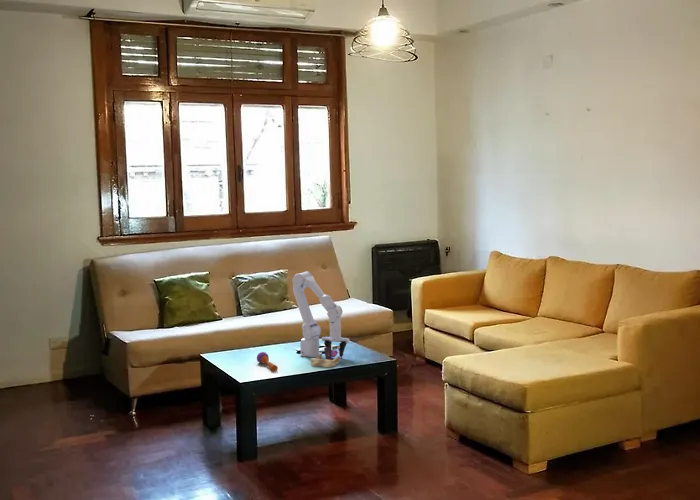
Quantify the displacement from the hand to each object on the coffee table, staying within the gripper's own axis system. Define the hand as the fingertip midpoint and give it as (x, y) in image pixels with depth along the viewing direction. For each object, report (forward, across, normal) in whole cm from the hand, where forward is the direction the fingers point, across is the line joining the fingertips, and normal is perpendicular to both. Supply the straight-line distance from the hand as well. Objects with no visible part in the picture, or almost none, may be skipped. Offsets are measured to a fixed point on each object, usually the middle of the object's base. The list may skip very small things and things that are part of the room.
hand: (335, 355), depth 396 cm
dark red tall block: (+2, -1, -2) cm, 3 cm away
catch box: (+1, -1, -12) cm, 12 cm away
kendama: (+2, -27, -25) cm, 37 cm away
